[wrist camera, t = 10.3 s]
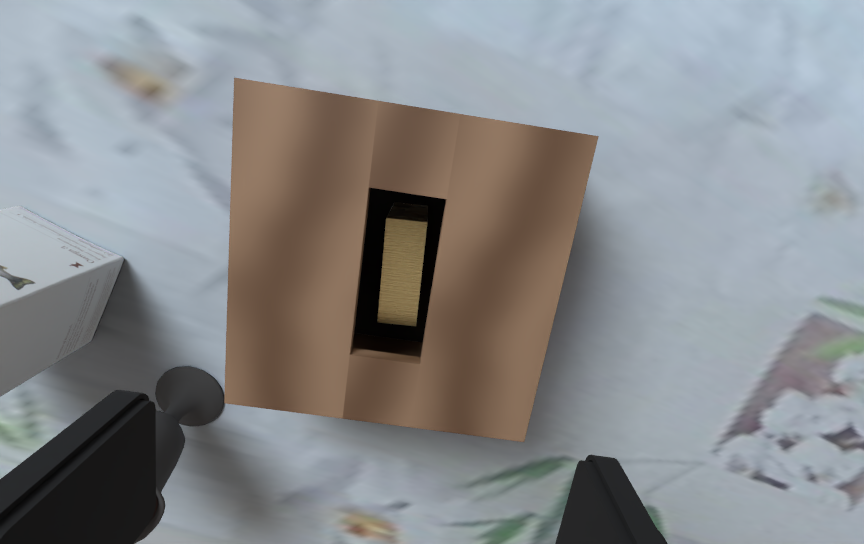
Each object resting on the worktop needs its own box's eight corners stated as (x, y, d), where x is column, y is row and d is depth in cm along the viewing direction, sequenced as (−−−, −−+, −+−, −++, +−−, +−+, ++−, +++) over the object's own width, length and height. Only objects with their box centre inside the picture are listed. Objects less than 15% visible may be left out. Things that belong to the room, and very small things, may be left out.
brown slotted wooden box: (549, 135, 30) (598, 136, 21) (500, 363, 34) (523, 441, 25) (293, 93, 29) (234, 77, 20) (277, 332, 33) (224, 403, 25)
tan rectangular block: (427, 222, 25) (416, 326, 27) (428, 205, 31) (418, 291, 33) (386, 218, 25) (377, 322, 27) (394, 201, 31) (386, 288, 32)
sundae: (254, 413, 35) (132, 607, 21) (179, 447, 36) (12, 657, 22) (203, 340, 33) (33, 497, 19) (126, 378, 34) (-93, 555, 20)
